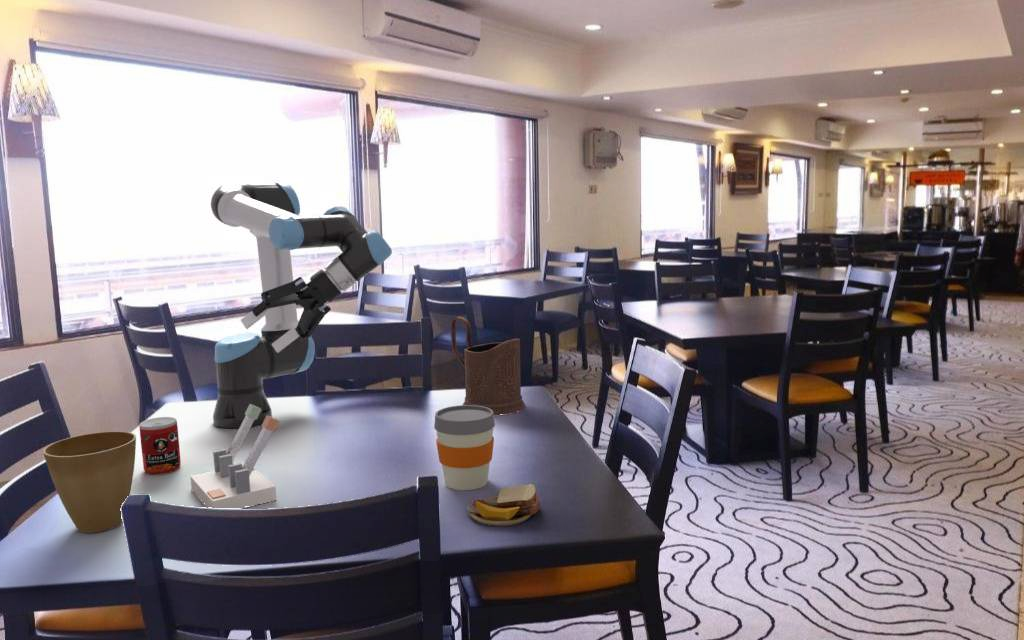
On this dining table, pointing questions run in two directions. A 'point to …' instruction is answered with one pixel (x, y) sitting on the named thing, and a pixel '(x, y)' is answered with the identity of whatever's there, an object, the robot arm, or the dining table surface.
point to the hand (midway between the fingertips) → (259, 337)
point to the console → (231, 485)
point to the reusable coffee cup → (465, 445)
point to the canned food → (160, 445)
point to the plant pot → (93, 476)
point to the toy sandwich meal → (506, 506)
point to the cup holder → (491, 373)
